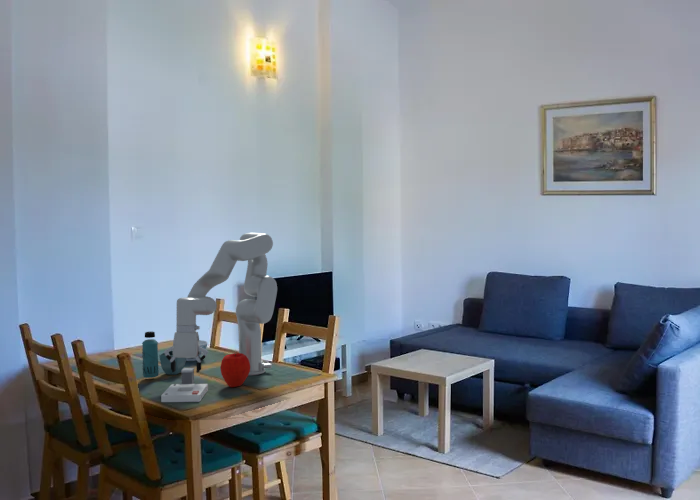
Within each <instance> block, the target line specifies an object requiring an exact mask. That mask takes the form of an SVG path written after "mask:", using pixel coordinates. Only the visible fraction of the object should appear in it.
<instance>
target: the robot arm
mask: <svg viewBox="0 0 700 500" xmlns="http://www.w3.org/2000/svg"><path fill="white" fill-rule="evenodd" d="M273 246H274V242H273V238H272V237H271V236H270V235H269V234H267V233H263V232H262V233H261V232H246V233H243V234H242V235H241V236H240V238H239V240H238V239H236V240H235V239H230V240H229V239H228V240H225V241H224V242H223V243H222V244H221V246H220V248H219V250H218V252H217V254H216V256H215V257H214V260H213V262H212V264H211V266H210V267H209V269H208V270H207V271H206V272H205V273H204V274H203V275H201V276H200V278H199V279H197V280H196V282H195V283H194V284H193V285H192V287H191V289H190V291H189V292H188V295H187V297H179V298H177V299H176V326H175V327H176V329H175V332H174V335H173V343H172V346H170V347H169V348H166V349H165V350H164V351H163V353H165V355H166V358H167V359H168V360H169V361H170V362H171V370H172V372H175V371H176V361H175V359H176V358H195V359H196V361H197V362H196V373H199V372H200V371H201V370H202V361H203V360H204V359H206V357H207V355H208V354H209V350H207V348H206V349H204V348H202V347H200V343H199V340H200V335H199V332H198V331H197V330H200V329H201V326H199V325H197V316H210V315H212V314H214V312H216V309H217V302H216V300H215V299H214V298H213V297H210V296H207V294H208V293H209V292H210V291H211V290H212V289H213V288H215V287H216V286H218V285H220V284H223V283H225V282H226V281H227V280H228V279H229V277H230V276H231V274H232V271H233V269H234V267H235V265H236V264H237V262H238V261H239V262H247V267H246V273H245V278H244V284H243V291H244V293H245V294H246V295H247V296H250V297H254V298H255V297H256V299H250V298H245V299H242V300H240V301H239V302H238V303H237V304H236V308H235V316H236V319H237V326H238V353H242V354H244V355H246V356H247V358H248V360H249V362H250V372H249V374H248V376H258V375H262V374H265V372H266V369H272V368H273V366H272V365H273V364H272V363H269V362H267V363H265V362H264V360H263V359H262V329H261V324H263V325H264V324H266V323H268V322H270V321H271V319H272V317H273V314H274V310H275V307H276V306H275V305H276V299H277V294H278V286H277V285H278V284H277V281H276V279H275V278H273V277H272V276H270V275H267V272H268V258H267V256H266V254H268V253H269V252H270V251H271V250H272V248H273ZM170 351H173V357H171V356H170V355H169V352H170ZM200 351H201V352H203V354H202V355H201V356H199V354H200Z"/></svg>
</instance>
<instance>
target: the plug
mask: <svg viewBox="0 0 700 500" xmlns="http://www.w3.org/2000/svg"><path fill="white" fill-rule="evenodd" d="M180 373H181V384H195V367H184V368H183V369H182V370H181V372H180Z"/></svg>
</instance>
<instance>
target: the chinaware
mask: <svg viewBox="0 0 700 500" xmlns="http://www.w3.org/2000/svg"><path fill="white" fill-rule="evenodd" d="M199 343H200V347H202V348H204V349H206V350H207V347H208V341H206V340H200V339H199ZM203 354H204V353H203V352H201V351H200V354H199V356H200V357H202V356H203ZM195 361H197V360H196V359H195V358H186V362H195Z"/></svg>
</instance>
